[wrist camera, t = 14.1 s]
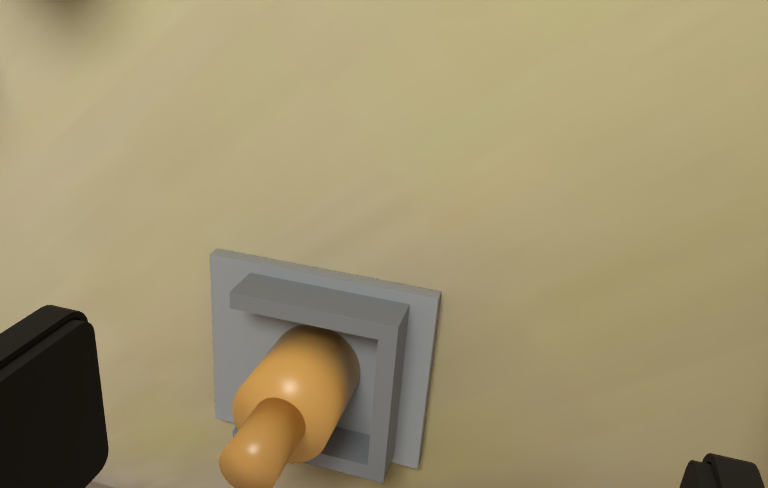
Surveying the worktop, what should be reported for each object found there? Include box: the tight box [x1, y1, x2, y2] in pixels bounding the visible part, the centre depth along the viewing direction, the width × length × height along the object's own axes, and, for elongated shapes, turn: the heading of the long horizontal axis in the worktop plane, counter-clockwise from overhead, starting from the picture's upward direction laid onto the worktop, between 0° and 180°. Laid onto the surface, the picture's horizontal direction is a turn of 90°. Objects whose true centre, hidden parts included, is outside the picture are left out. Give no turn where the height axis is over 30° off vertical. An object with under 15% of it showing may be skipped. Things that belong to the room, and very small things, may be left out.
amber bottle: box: [219, 325, 360, 488], centre depth 42 cm, size 6×6×11 cm
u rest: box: [210, 249, 441, 483], centre depth 46 cm, size 16×14×4 cm
